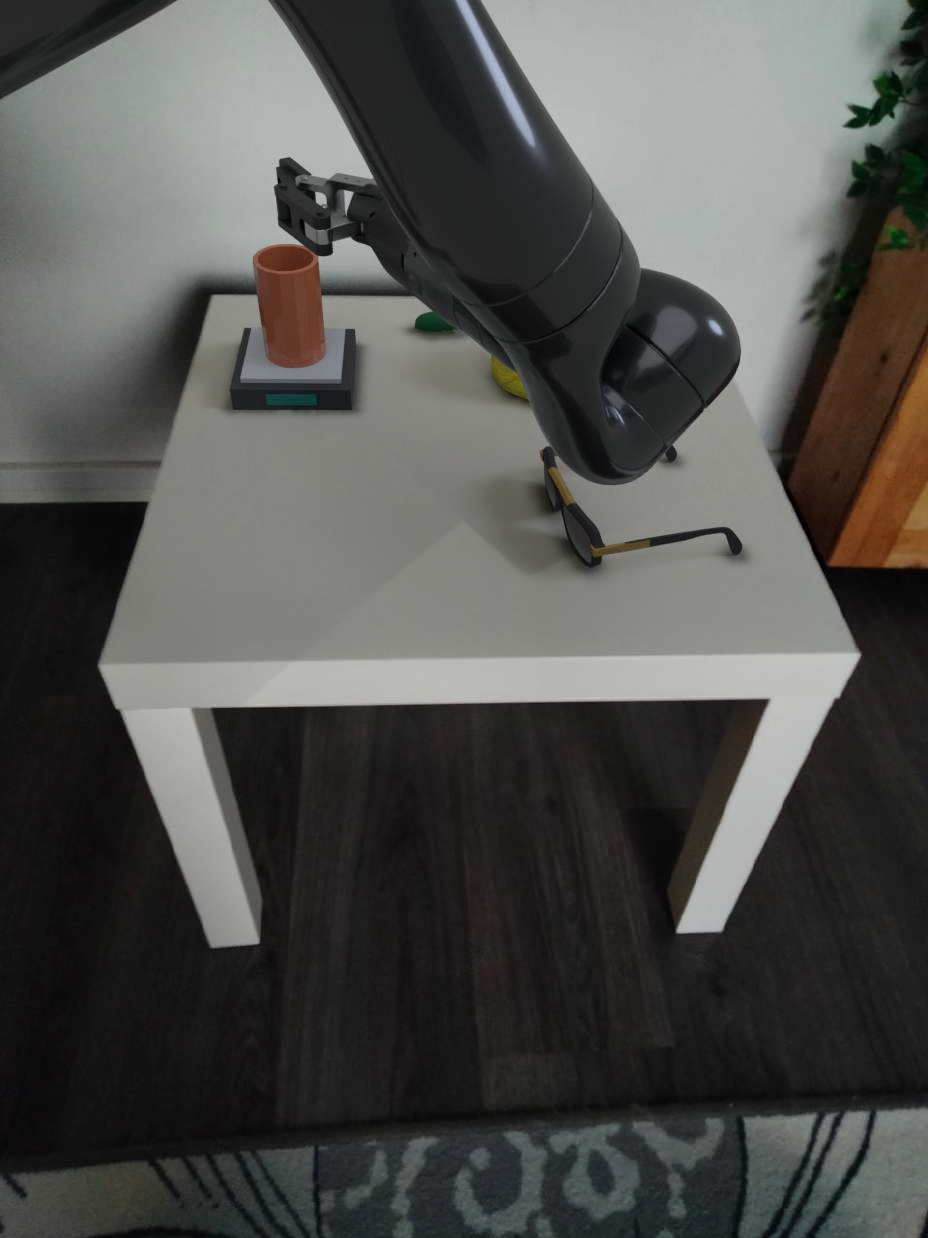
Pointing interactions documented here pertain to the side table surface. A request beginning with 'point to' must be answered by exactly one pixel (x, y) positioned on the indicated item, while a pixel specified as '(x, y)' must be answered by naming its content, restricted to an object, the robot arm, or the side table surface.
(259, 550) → the side table surface
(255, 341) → the scale
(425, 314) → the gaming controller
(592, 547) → the sunglasses
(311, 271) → the cup
